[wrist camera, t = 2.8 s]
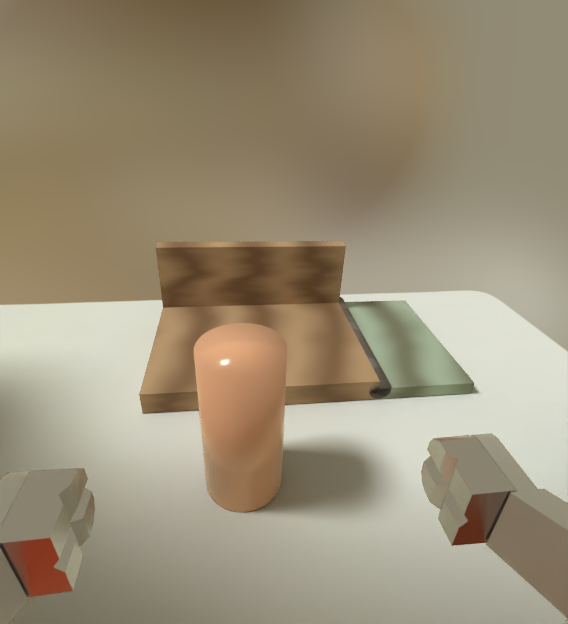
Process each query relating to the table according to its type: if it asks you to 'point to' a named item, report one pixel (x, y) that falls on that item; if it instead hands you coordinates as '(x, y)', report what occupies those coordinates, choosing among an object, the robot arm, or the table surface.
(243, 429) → the peach cylinder
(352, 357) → the brown wooden l-shaped board
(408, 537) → the table surface
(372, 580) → the table surface
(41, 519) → the robot arm
